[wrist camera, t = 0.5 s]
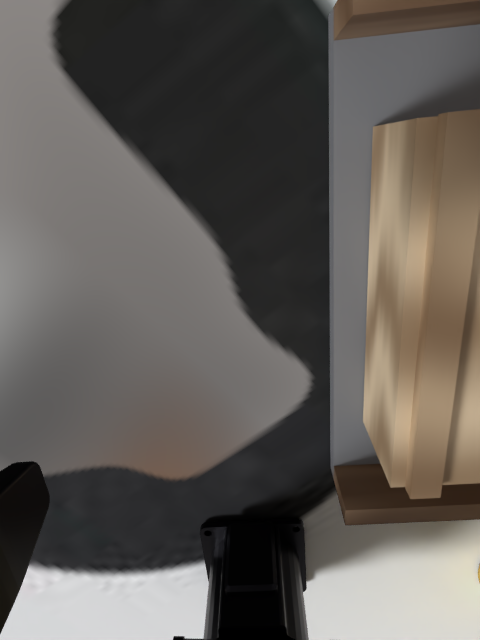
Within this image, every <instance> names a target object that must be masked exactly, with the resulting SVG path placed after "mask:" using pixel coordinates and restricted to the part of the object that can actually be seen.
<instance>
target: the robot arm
mask: <svg viewBox="0 0 480 640" xmlns="http://www.w3.org/2000/svg"><path fill="white" fill-rule="evenodd" d="M49 502H50V496H49V491H48V488H47V486H46V483H45V480H44V477H43V474H42V471H41V469H40V466H39V465H38V464H37V463H36V462H33V461H29V462H16V463H13V464H11V465H10V466H8V467H6V468H5V469H3V470H1V471H0V633H1V631H2V629H3V627H4V624H5V622H6V620H7V618H8V616H9V613H10V611H11V609H12V607H13V604H14V602H15V600H16V597H17V595H18V593H19V590H20V588H21V585H22V582H23V580H24V577H25V574H26V571H27V568H28V566H29V563H30V560H31V557H32V554H33V551H34V548H35V545H36V542H37V539H38V537H39V534H40V531H41V528H42V525H43V522H44V519H45V516H46V513H47V510H48V507H49ZM295 526H296V527H295ZM207 530H208V531H207ZM200 536H201V542H202V547H203V553H204V558H205V564H206V570H207V575H208V581H209V588H208V598H207V609H206V619H205V630H204V639H185V638H184V636H174V638H173V640H309V639H308V630H307V622H306V614H305V605H304V597H303V592H304V591H305V590H306V565H305V540H304V525H303V521H302V520H301V519H298V518H287V519H265V520H244V521H222V522H206V523H203V524H202V525H201V530H200Z"/></svg>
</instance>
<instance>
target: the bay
mask: <svg viewBox="0 0 480 640" xmlns="http://www.w3.org/2000/svg"><path fill="white" fill-rule="evenodd" d="M476 109H480V0H338V1H337V2H336V4H335V6H334V7H333V9H332V11H331V13H330V14H329V229H330V455H331V471H332V475H333V479H334V483H335V487H336V491H337V494H338V498H339V502H340V506H341V510H342V514H343V518H344V522H345V525H363V524H386V523H408V522H430V521H452V520H474V519H480V483H474V484H454V485H442V490H441V497H440V498H425V499H410V497H409V495H408V493H407V491H406V489H405V487H394V488H391V487H390V485H389V483H388V480H387V478H386V475H385V473H384V471H383V468H382V466H381V463H380V461H379V459H378V456H377V454H376V451H375V449H374V447H373V444H372V442H371V439H370V437H369V435H368V432H367V430H366V427H365V425H364V423H363V407H364V377H365V347H366V317H367V288H368V258H369V228H370V198H371V168H372V139H373V127H374V126H379V125H384V124H389V123H395V122H400V121H405V120H410V119H415V118H424V117H434V116H438V114H442V113H447V112H456V111H466V110H476Z"/></svg>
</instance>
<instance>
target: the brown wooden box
mask: <svg viewBox="0 0 480 640" xmlns="http://www.w3.org/2000/svg"><path fill="white" fill-rule="evenodd" d="M363 423H364V425H365V427H366V430H367V432H368V435H369V437H370V439H371V442H372V444H373V447H374V449H375V451H376V454H377V456H378V459H379V461H380V463H381V466H382V468H383V471H384V473H385V475H386V478H387V480H388V483H389V485H390V487H391V488H394V487H405V489H406V491H407V493H408V495H409V497H410V499H425V498H440V497H441V490H442V485H454V484H474V483H480V109H476V110H466V111H456V112H447V113H442V114H438V116H434V117H424V118H415V119H410V120H405V121H400V122H395V123H389V124H384V125H379V126H374V127H373V139H372V168H371V198H370V228H369V258H368V288H367V317H366V347H365V377H364V407H363Z"/></svg>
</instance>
